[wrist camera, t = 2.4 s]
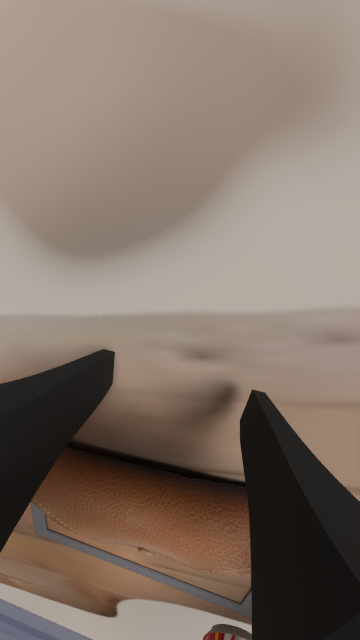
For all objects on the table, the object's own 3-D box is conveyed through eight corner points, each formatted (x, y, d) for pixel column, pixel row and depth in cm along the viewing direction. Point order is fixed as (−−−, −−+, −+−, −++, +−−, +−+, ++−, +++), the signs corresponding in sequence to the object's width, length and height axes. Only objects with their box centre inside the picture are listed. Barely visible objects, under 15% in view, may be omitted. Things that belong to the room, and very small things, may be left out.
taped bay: (301, 554, 16) (302, 557, 15) (251, 616, 20) (251, 618, 20) (24, 457, 18) (23, 459, 18) (36, 531, 23) (35, 533, 23)
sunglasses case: (65, 500, 19) (-7, 573, 13) (82, 421, 20) (23, 450, 14) (265, 555, 16) (303, 684, 10) (270, 460, 18) (306, 519, 11)
